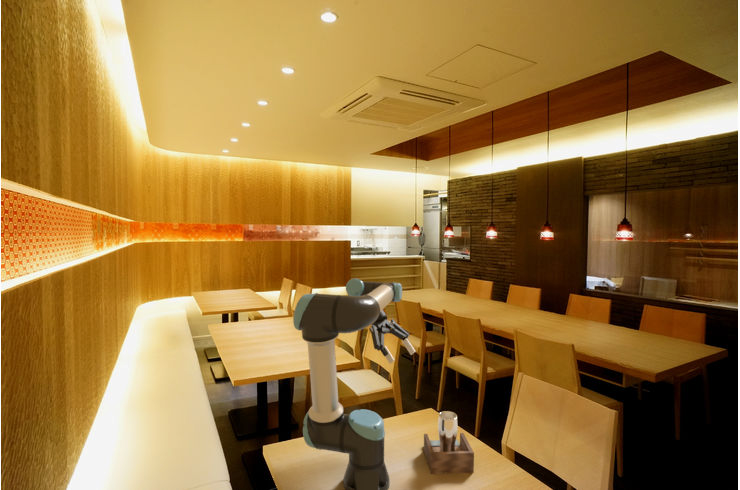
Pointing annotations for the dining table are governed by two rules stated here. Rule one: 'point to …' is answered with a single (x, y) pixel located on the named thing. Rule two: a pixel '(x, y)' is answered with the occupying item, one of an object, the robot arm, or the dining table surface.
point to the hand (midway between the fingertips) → (403, 357)
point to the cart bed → (449, 456)
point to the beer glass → (447, 431)
